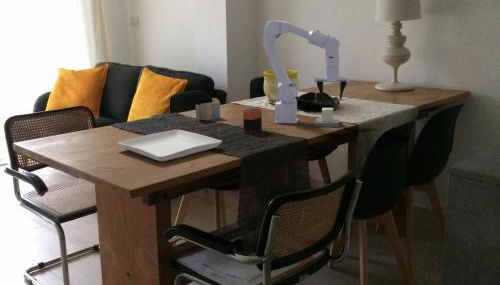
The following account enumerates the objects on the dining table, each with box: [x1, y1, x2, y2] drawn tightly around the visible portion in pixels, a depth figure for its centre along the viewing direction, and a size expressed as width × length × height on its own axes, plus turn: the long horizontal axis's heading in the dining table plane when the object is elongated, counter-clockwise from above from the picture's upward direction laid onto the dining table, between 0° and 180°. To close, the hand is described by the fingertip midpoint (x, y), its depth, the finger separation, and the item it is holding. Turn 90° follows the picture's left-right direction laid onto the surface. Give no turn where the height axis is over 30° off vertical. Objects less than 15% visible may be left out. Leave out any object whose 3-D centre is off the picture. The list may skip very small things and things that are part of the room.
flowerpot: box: [262, 69, 299, 105], centre depth 267 cm, size 18×18×16 cm
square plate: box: [117, 129, 223, 162], centre depth 182 cm, size 27×27×4 cm
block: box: [321, 107, 334, 122], centre depth 217 cm, size 4×4×5 cm
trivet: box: [314, 117, 341, 128], centre depth 217 cm, size 10×10×2 cm
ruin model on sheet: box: [195, 97, 221, 121], centre depth 231 cm, size 11×3×10 cm, turn 126°
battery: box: [242, 106, 263, 132], centre depth 206 cm, size 4×7×10 cm, turn 136°
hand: (331, 99), depth 216 cm, fingers open, 7 cm apart
